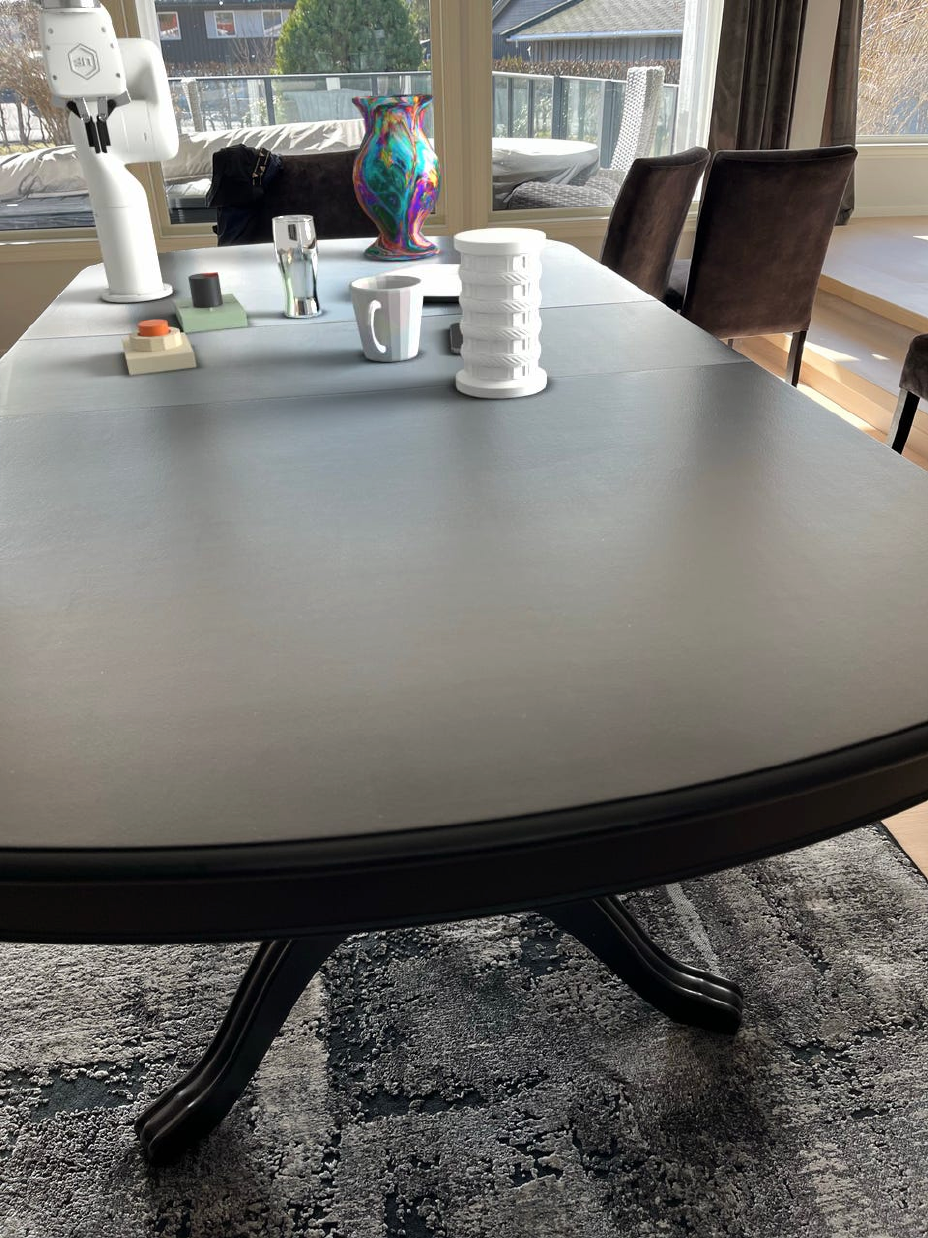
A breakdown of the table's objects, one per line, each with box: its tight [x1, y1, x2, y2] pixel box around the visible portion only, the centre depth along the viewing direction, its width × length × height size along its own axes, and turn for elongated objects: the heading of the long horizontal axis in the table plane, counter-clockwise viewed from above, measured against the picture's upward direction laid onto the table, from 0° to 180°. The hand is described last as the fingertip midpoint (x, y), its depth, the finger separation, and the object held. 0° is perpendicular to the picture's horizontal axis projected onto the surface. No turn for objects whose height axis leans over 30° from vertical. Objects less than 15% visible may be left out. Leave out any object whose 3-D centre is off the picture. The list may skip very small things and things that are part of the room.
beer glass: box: [271, 214, 323, 319], centre depth 154 cm, size 7×7×15 cm
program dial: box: [187, 272, 223, 308], centre depth 154 cm, size 5×5×5 cm
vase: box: [350, 93, 442, 261], centre depth 196 cm, size 18×18×30 cm
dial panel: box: [172, 293, 248, 334], centre depth 156 cm, size 14×10×3 cm
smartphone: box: [449, 322, 463, 354], centre depth 140 cm, size 8×1×15 cm
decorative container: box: [453, 227, 547, 399], centre depth 116 cm, size 12×12×18 cm
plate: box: [374, 263, 462, 303], centre depth 171 cm, size 27×27×2 cm
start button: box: [137, 319, 169, 337], centre depth 133 cm, size 4×4×2 cm
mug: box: [348, 275, 424, 363], centre depth 130 cm, size 10×15×10 cm
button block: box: [121, 326, 197, 376], centre depth 135 cm, size 12×9×4 cm
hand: (101, 151), depth 136 cm, fingers closed
